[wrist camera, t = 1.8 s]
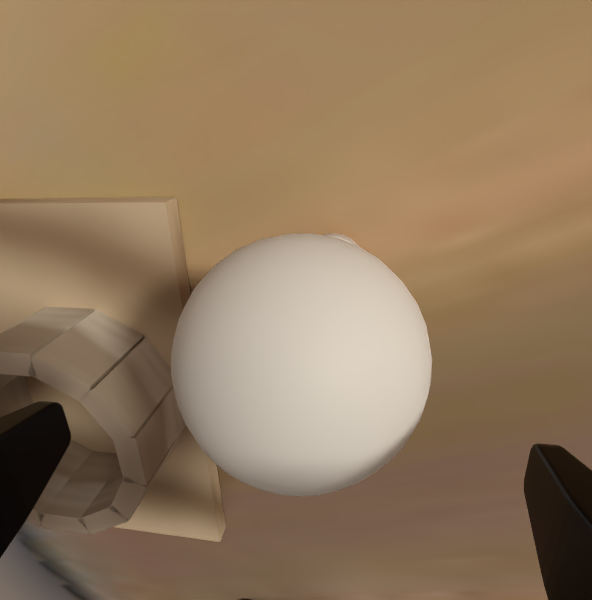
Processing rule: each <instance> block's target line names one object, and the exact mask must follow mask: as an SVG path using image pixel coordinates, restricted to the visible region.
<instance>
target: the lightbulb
mask: <svg viewBox="0 0 592 600" xmlns="http://www.w3.org/2000/svg"><path fill="white" fill-rule="evenodd" d="M431 368H432V357H431V350H430V344H429V338H428V333H427V327H426V324H425V321H424V319H423V317H422V314H421V312H420V309H419V307H418V304H417V302H416V301H415V300H414V298H413V297H412V295H411V294H410V292H409V291H408V289H407V288H406V286H405V285H404V284H403V282H402V281H401V280H400V279H399V278H398V277H397V276H396V275H395V274H394V273H393V272H392V271H391V270H390V269H389V268H388V267H387V266H386V265H385V264H384V263H383V262H382V261H381V260H380V259H378V258H376V257H375V256H373V255H372V254H370V253H369V252H367V251H365V250H364V249H362V248H361V247H359V246H358V245H357V244H356V243H355V242H354V241H353V240H352V239H350V238H349V237H347V236H345V235H342V234H337V233H327V234H322V235H319V234H314V233H302V234H285V235H281V236H276V237H271V238H266V239H262V240H257V241H255V242H253V243H251V244H248V245H246V246H244V247H242V248H239V249H237V250H235V251H234V252H232V253H231V254H230V255H228V256H227V257H226V258H224V259H223V260H221V261H220V262H219V263H217V264H216V265H215V266H214V267H213V268H212V269H211V270H210V271H209V272H208V273H207V274H206V275H205V277H204V278H203V279H202V280H201V281H200V282H199V283H198V285H197V286H196V287H195V288H194V290H193V292H192V294H191V296H190V298H189V299H188V301H187V303H186V305H185V307H184V309H183V311H182V313H181V316H180V318H179V320H178V324H177V328H176V332H175V336H174V340H173V346H172V353H171V377H172V382H173V387H174V392H175V396H176V400H177V404H178V408H179V410H180V412H181V415H182V417H183V420H184V422H185V424H186V426H187V427H188V429H189V431H190V432H191V434H192V435H193V437H194V438H195V440H196V441H197V443H198V444H199V446H200V448H201V449H202V450H203V451H204V452H205V453H206V454H207V456H208V457H209V458H210V459H211V460H212V461H213V462H214V463H215V464H217V465H218V466H219V467H220V468H222V469H223V470H224V471H225V472H227V473H228V474H230V475H231V476H233V477H235V478H236V479H238V480H240V481H242V482H243V483H246V484H248V485H250V486H253V487H255V488H258V489H260V490H264V491H267V492H271V493H275V494H280V495H289V496H316V495H321V494H326V493H331V492H334V491H337V490H340V489H343V488H346V487H348V486H351V485H353V484H356V483H358V482H361V481H363V480H364V479H366V478H367V477H369V476H370V475H372V474H373V473H375V472H377V471H378V470H379V469H381V468H382V467H383V466H384V465H386V464H387V463H388V462H389V461H390V460H391V459H392V458H393V457H394V456H395V455H396V454H397V453H398V452H399V451H400V450H401V449H402V448H403V447H404V445H405V444H406V442H407V440H408V439H409V437H410V436H411V434H412V432H413V431H414V429H415V427H416V425H417V423H418V422H419V420H420V418H421V415H422V412H423V409H424V406H425V403H426V400H427V397H428V392H429V387H430V382H431Z"/></svg>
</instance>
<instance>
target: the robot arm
mask: <svg viewBox="0 0 592 600" xmlns="http://www.w3.org/2000/svg"><path fill="white" fill-rule="evenodd" d="M70 441H71V432H70V428H69V425H68V422H67V419H66V416H65V412H64V409H63V407H62V405H61V404H60V403H58V402H52V401H38V402H35V403H33V404H30V405H28V406H25V407H23V408H21V409H18V410H16V411H14V412H11V413H9V414H6V415H4V416H2V417H0V558H1V556H2V555H3V553H4V552H5V550H6V549H7V547H8V546H9V544H10V543H11V541H12V540H13V539H14V537H15V536H16V534H17V533H18V531H19V530H20V528H21V527H22V525H23V524H24V522H25V521H26V519H27V518H28V516H29V515H30V513H31V511H32V510H33V508H34V506H35V505H36V503H37V501H38V500H39V498H40V496H41V494H42V493H43V491H44V489H45V487H46V485H47V484H48V482H49V480H50V478H51V477H52V475H53V473H54V471H55V470H56V468H57V466H58V464H59V463H60V461H61V459H62V457H63V456H64V454H65V452H66V450H67V448H68V447H69V444H70ZM524 494H525V499H526V503H527V508H528V513H529V517H530V522H531V527H532V532H533V536H534V541H535V546H536V550H537V555H538V560H539V564H540V569H541V574H542V578H543V582H544V586H545V590H546V593H547V597H548V600H592V470H590V469H589V468H588V467H587V466H585V465H584V464H583V463H582V462H580V461H579V460H578V459H577V458H575V457H574V456H573V455H572V454H570V453H569V452H568V451H567V450H565V449H564V448H563V447H561V446H558V445H549V444H535V445H533V446H532V448H531V451H530V455H529V460H528V464H527V469H526V473H525V478H524Z"/></svg>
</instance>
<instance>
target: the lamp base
mask: <svg viewBox="0 0 592 600" xmlns="http://www.w3.org/2000/svg"><path fill="white" fill-rule="evenodd" d="M190 296H191V293H190V286H189V279H188V273H187V266H186V259H185V253H184V246H183V240H182V233H181V226H180V220H179V213H178V206H177V200H176V197H159V198H66V199H0V417H2V416H4V415H6V414H9V413H11V412H14V411H16V410H18V409H21V408H23V407H25V406H28V405H30V404H33V403H35V402H38V401H52V402H58V403H60V404H61V405H62V407H63V409H64V412H65V416H66V419H67V422H68V425H69V428H70V432H71V441H70V444H69V447H68V448H67V450H66V452H65V454H64V456H63V457H62V459H61V461H60V463H59V464H58V466H57V468H56V470H55V471H54V473H53V475H52V477H51V478H50V480H49V482H48V484H47V485H46V487H45V489H44V491H43V493H42V494H41V496H40V498H39V500H38V501H37V503H36V505H35V506H34V508H33V510H32V511H31V513H30V515H29V516H28V518H27V519H26V520H27V521H29V522H31V523H33V524H35V525H37V526H39V527H40V526H41V525H42V527H43V528H46V529H53V530H59V531H66V532H73V533H80V534H87V535H89V534H91V535H92V534H95V533H97V532H100V531H103V530H106V529H109V528H111V527H118V528H125V529H132V530H139V531H146V532H153V533H160V534H167V535H174V536H181V537H188V538H195V539H202V540H209V541H216V542H220V541H221V538H222V535H223V533H224V530H225V528H226V524H225V518H224V511H223V505H222V498H221V491H220V485H219V478H218V471H217V465H216V464H215V463H214V462H213V461H212V460H211V459H210V458H209V457H208V456H207V454H206V453H205V452H204V451H203V450H202V449H201V448H200V446H199V444H198V443H197V441H196V440H195V438H194V437H193V435H192V434H191V432H190V431H189V429H188V427H187V426H186V424H185V422H184V420H183V417H182V415H181V412H180V410H179V408H178V404H177V400H176V396H175V392H174V387H173V382H172V377H171V353H172V346H173V340H174V336H175V332H176V328H177V324H178V320H179V318H180V316H181V313H182V311H183V309H184V307H185V305H186V303H187V301H188V299H189V298H190Z"/></svg>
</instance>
